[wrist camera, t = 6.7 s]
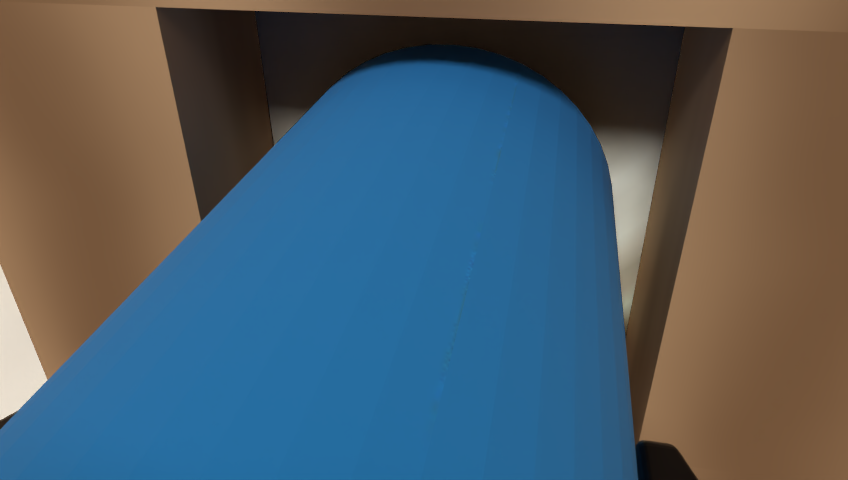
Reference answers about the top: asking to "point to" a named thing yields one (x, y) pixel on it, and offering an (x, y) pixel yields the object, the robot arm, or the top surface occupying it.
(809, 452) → the can holder
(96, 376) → the beverage can
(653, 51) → the top surface
